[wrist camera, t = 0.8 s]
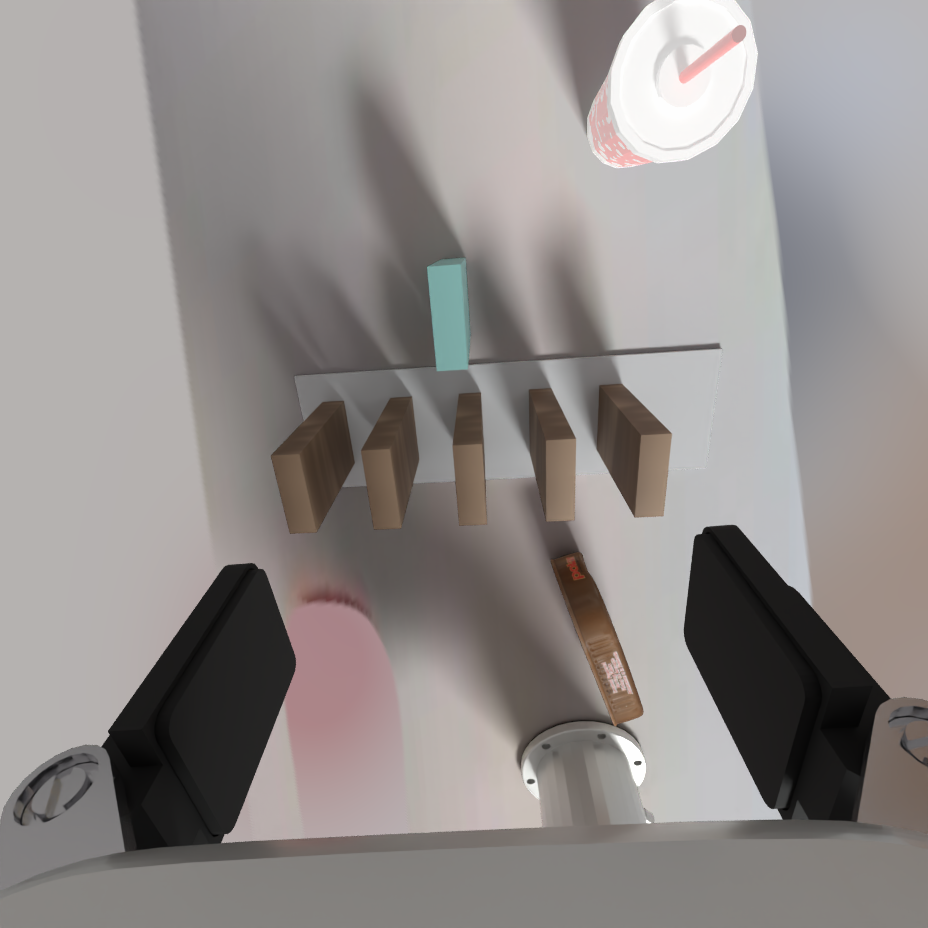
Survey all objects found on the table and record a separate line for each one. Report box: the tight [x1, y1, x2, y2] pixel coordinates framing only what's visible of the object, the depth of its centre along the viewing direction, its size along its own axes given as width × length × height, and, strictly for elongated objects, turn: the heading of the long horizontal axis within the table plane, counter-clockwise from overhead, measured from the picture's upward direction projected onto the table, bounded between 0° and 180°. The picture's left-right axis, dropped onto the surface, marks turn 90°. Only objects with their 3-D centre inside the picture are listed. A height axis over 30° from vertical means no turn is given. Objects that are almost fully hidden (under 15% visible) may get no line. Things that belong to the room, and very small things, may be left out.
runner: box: [294, 348, 723, 487], centre depth 37 cm, size 30×9×1 cm, turn 94°
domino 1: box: [271, 401, 355, 534], centre depth 33 cm, size 2×5×10 cm, turn 4°
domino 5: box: [529, 388, 576, 522], centre depth 32 cm, size 2×5×10 cm, turn 4°
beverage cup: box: [587, 0, 758, 168], centre depth 23 cm, size 6×6×14 cm
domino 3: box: [427, 258, 471, 371], centre depth 29 cm, size 2×5×10 cm, turn 4°
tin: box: [551, 552, 644, 726], centre depth 40 cm, size 15×3×8 cm, turn 22°
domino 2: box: [361, 396, 419, 530], centre depth 33 cm, size 2×5×10 cm, turn 4°
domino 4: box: [452, 392, 487, 526], centre depth 32 cm, size 2×5×10 cm, turn 4°
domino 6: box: [597, 384, 672, 517], centre depth 32 cm, size 2×5×10 cm, turn 4°
